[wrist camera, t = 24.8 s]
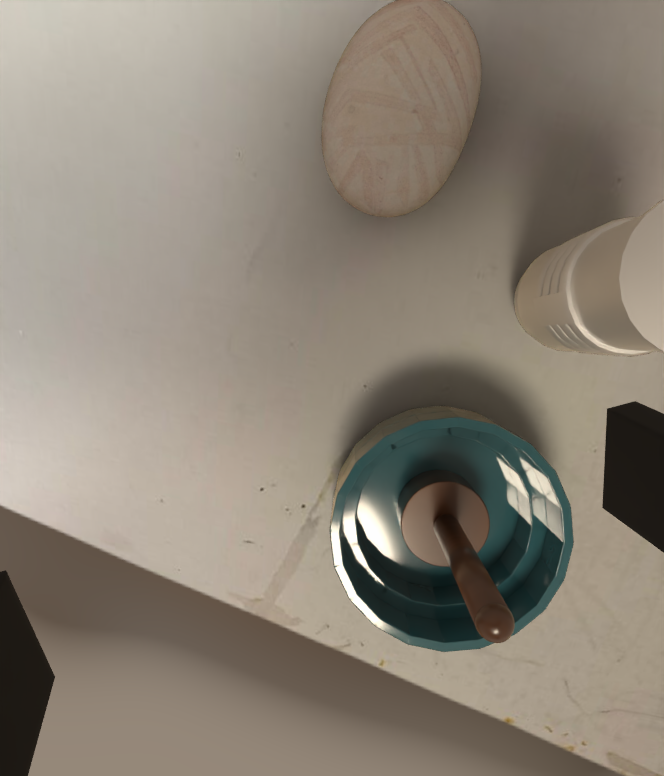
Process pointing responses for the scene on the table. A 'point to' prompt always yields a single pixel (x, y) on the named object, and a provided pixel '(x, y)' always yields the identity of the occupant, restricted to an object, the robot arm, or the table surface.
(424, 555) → the wooden peg stand
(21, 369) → the table surface
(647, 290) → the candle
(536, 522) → the bowl
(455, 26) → the decorative stone
